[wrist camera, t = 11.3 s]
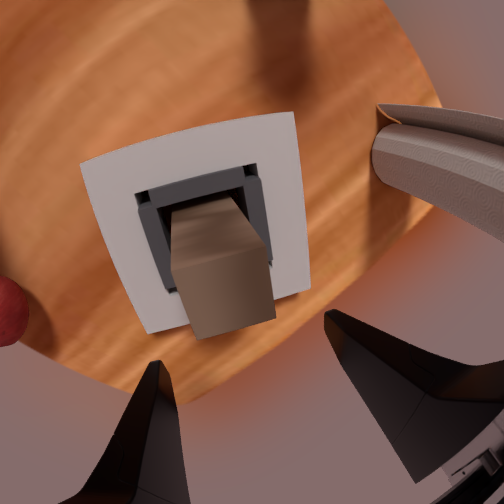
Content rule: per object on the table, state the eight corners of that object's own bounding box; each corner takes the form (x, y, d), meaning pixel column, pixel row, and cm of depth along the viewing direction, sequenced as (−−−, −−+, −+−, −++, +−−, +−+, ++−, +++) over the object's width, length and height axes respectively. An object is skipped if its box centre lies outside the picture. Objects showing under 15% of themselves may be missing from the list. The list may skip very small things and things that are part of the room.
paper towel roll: (408, 188, 24) (591, 298, 6) (364, 180, 23) (588, 317, 4) (419, 120, 21) (620, 191, 3) (375, 103, 20) (627, 169, 1)
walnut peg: (185, 250, 22) (197, 340, 13) (172, 202, 20) (170, 271, 11) (235, 237, 22) (276, 317, 13) (225, 189, 20) (266, 245, 12)
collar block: (148, 315, 23) (147, 338, 21) (90, 159, 16) (76, 165, 14) (299, 273, 25) (313, 291, 23) (280, 112, 19) (296, 111, 16)
